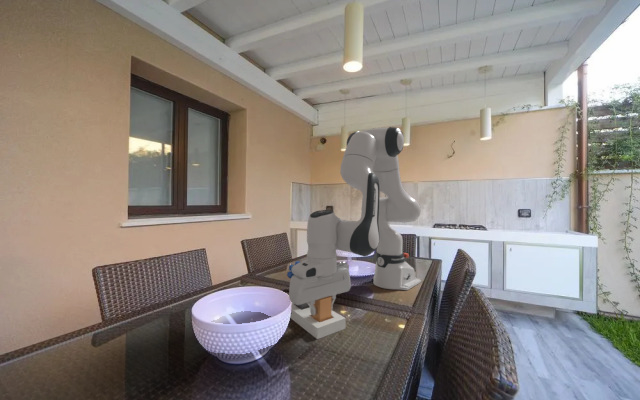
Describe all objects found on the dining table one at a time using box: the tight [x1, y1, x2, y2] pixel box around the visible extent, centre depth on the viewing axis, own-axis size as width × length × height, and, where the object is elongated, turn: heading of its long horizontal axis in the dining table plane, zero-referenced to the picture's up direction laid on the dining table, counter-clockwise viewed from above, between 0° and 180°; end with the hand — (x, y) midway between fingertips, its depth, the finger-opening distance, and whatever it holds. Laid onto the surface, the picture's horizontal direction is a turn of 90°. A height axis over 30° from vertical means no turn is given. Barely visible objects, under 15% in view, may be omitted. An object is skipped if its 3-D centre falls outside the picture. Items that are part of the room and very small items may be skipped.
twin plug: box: [296, 303, 309, 310], centre depth 85 cm, size 4×4×10 cm
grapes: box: [286, 260, 301, 280], centre depth 110 cm, size 12×7×12 cm, turn 104°
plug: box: [313, 296, 331, 322], centre depth 77 cm, size 4×4×10 cm
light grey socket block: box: [290, 302, 347, 340], centre depth 81 cm, size 10×20×4 cm, turn 35°
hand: (321, 311), depth 77 cm, fingers closed on plug, 4 cm apart
